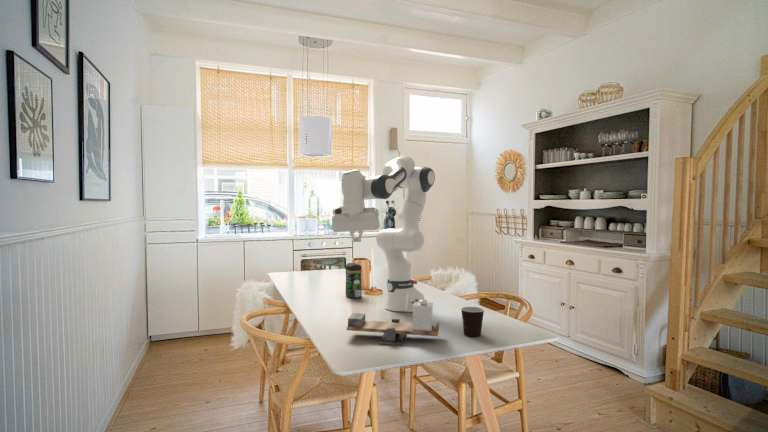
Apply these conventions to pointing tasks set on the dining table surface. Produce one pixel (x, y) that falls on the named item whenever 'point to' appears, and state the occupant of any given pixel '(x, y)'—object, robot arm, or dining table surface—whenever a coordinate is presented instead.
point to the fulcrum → (392, 336)
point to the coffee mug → (472, 321)
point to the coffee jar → (353, 280)
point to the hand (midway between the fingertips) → (357, 241)
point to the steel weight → (422, 316)
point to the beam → (385, 326)
